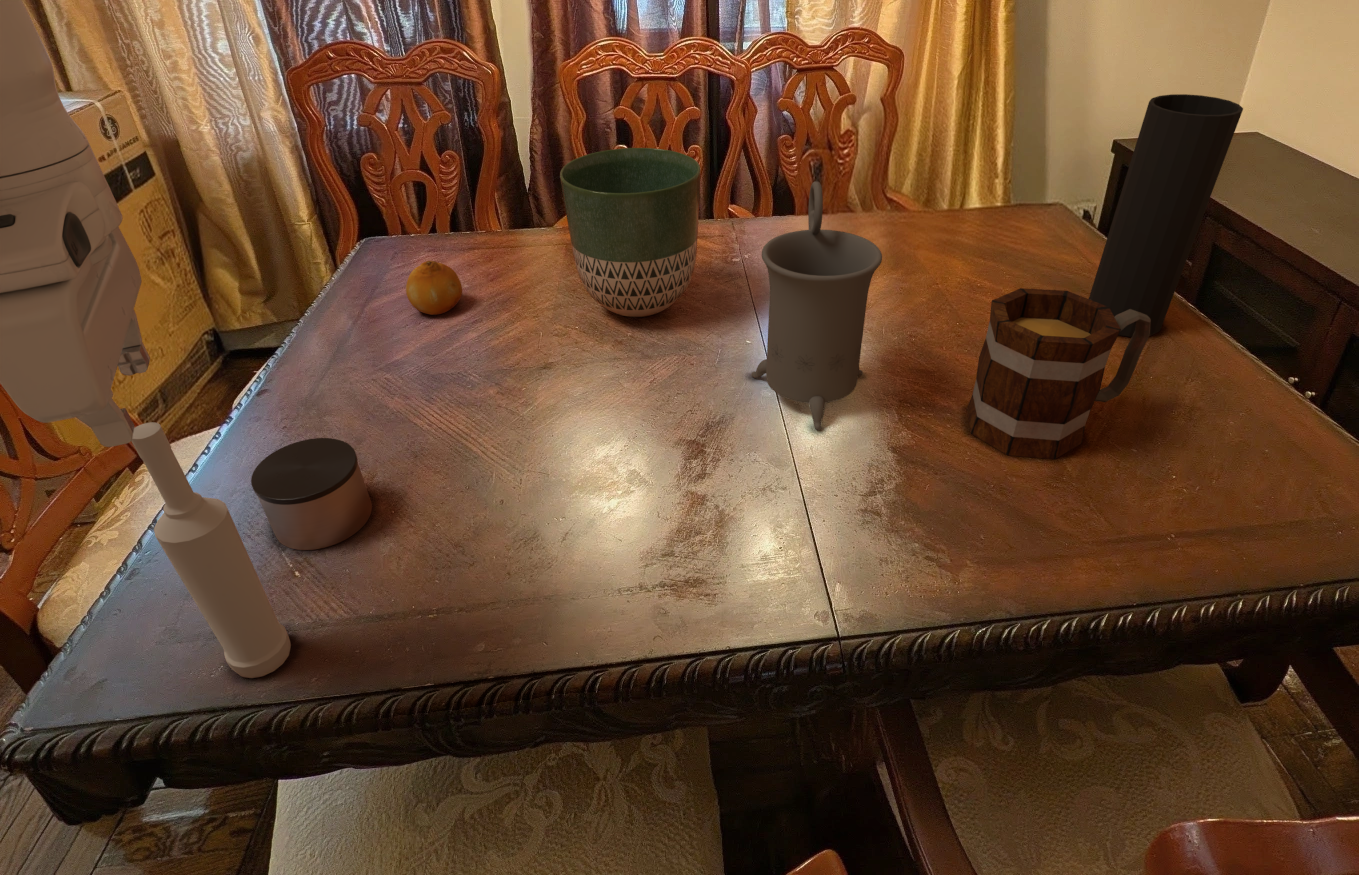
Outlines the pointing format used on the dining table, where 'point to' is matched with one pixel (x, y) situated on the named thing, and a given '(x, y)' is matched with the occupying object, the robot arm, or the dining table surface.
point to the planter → (633, 226)
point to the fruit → (433, 288)
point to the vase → (1163, 203)
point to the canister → (312, 493)
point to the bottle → (213, 563)
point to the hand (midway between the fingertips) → (129, 402)
